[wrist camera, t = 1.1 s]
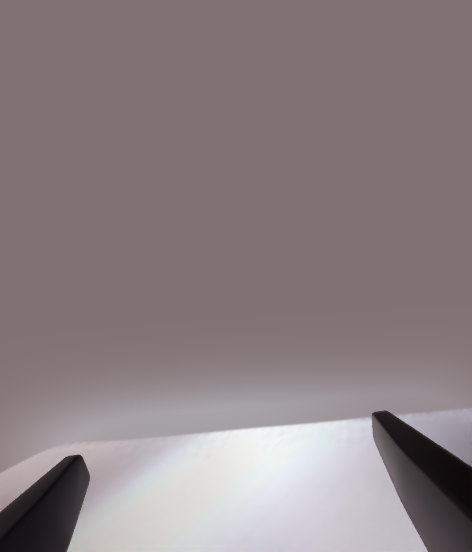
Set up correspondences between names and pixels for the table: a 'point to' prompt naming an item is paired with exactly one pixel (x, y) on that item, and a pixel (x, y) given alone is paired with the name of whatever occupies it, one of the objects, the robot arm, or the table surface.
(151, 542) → the table surface
